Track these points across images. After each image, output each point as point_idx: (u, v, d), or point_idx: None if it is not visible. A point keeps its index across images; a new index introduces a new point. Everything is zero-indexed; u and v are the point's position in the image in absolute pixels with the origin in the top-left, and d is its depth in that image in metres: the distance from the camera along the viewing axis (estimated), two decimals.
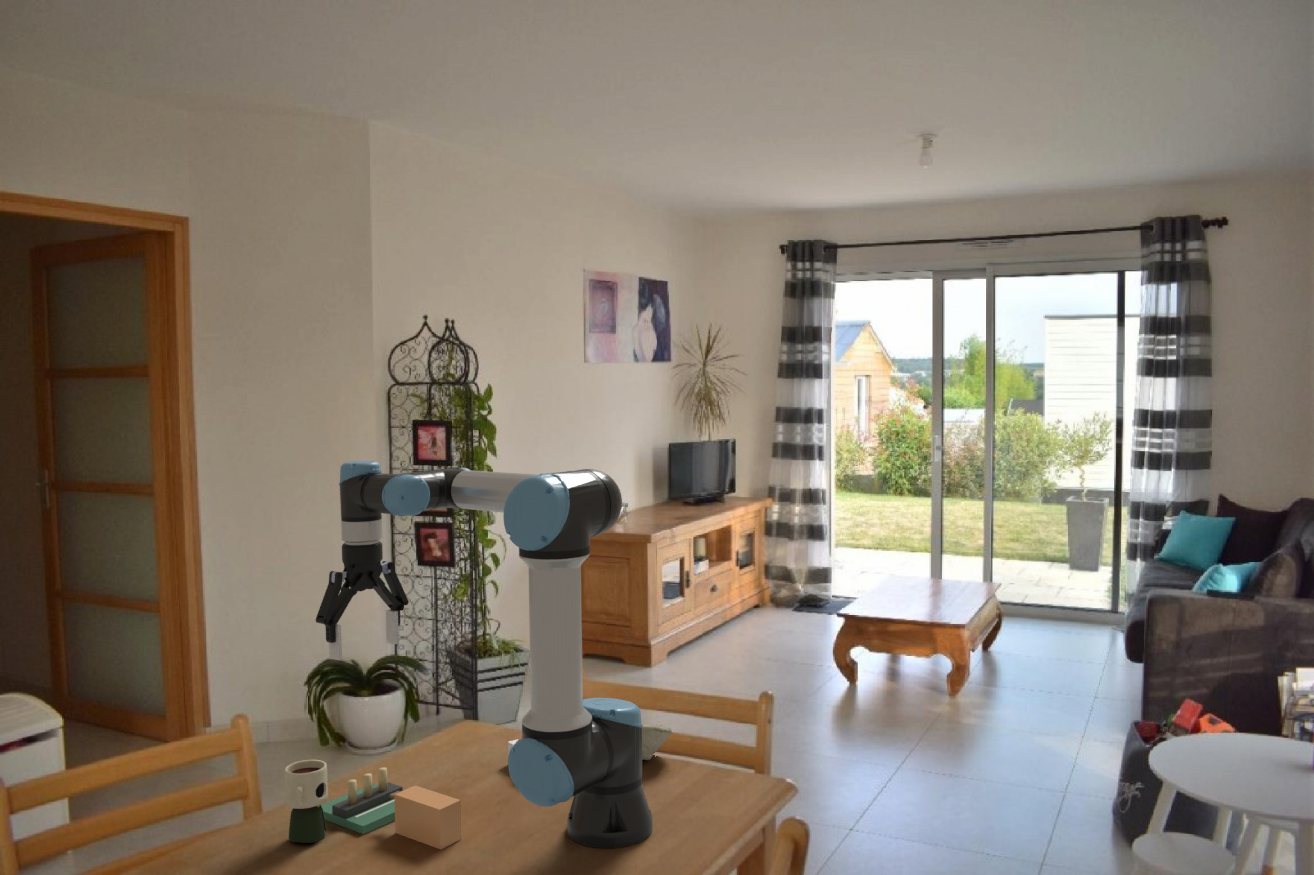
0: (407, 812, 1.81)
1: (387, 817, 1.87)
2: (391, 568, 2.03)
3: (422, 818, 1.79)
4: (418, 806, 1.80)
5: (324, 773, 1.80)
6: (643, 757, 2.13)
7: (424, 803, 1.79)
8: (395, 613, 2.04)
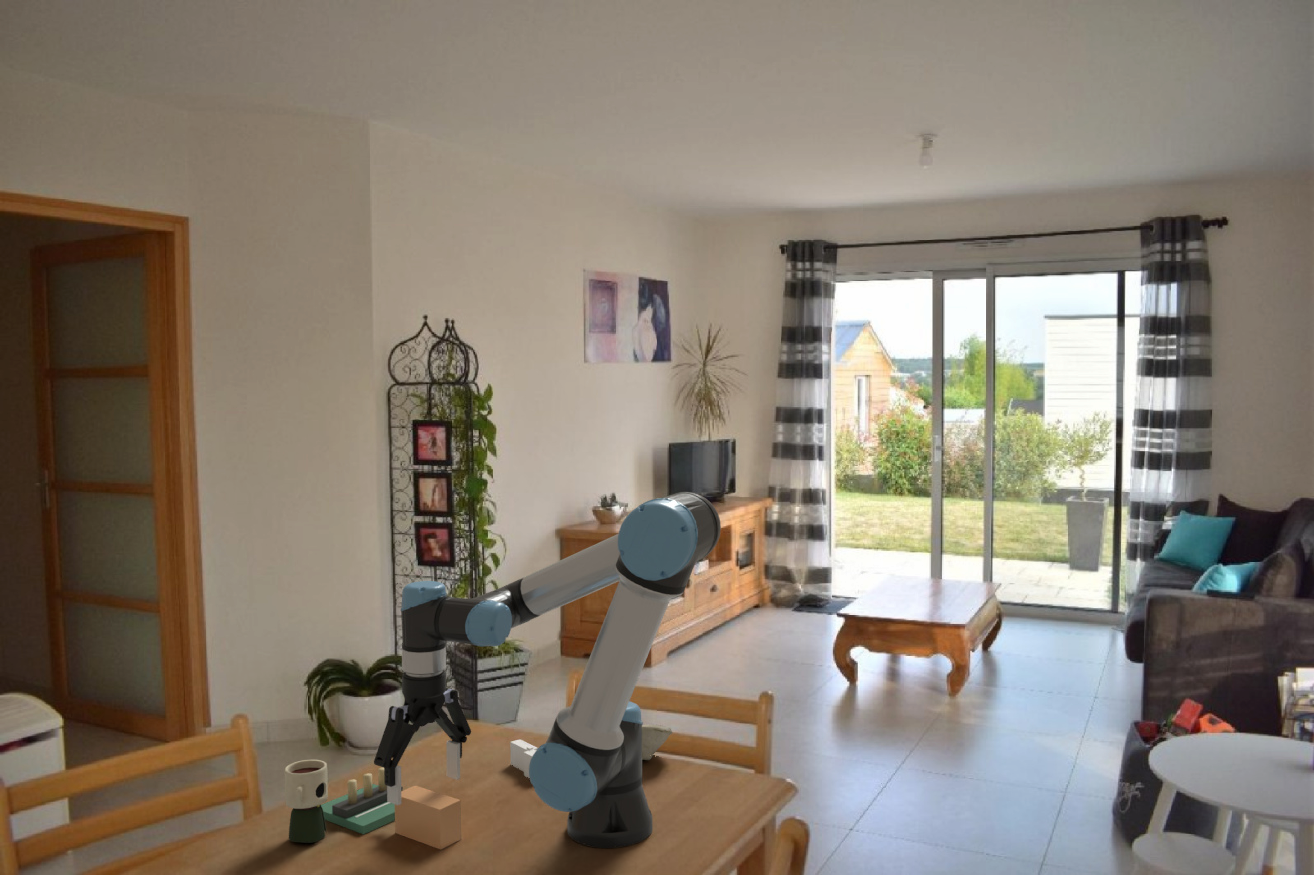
0: (407, 812, 1.81)
1: (387, 817, 1.87)
2: (454, 697, 1.85)
3: (422, 818, 1.79)
4: (418, 806, 1.80)
5: (324, 773, 1.80)
6: (643, 757, 2.13)
7: (424, 803, 1.79)
8: (457, 746, 1.86)
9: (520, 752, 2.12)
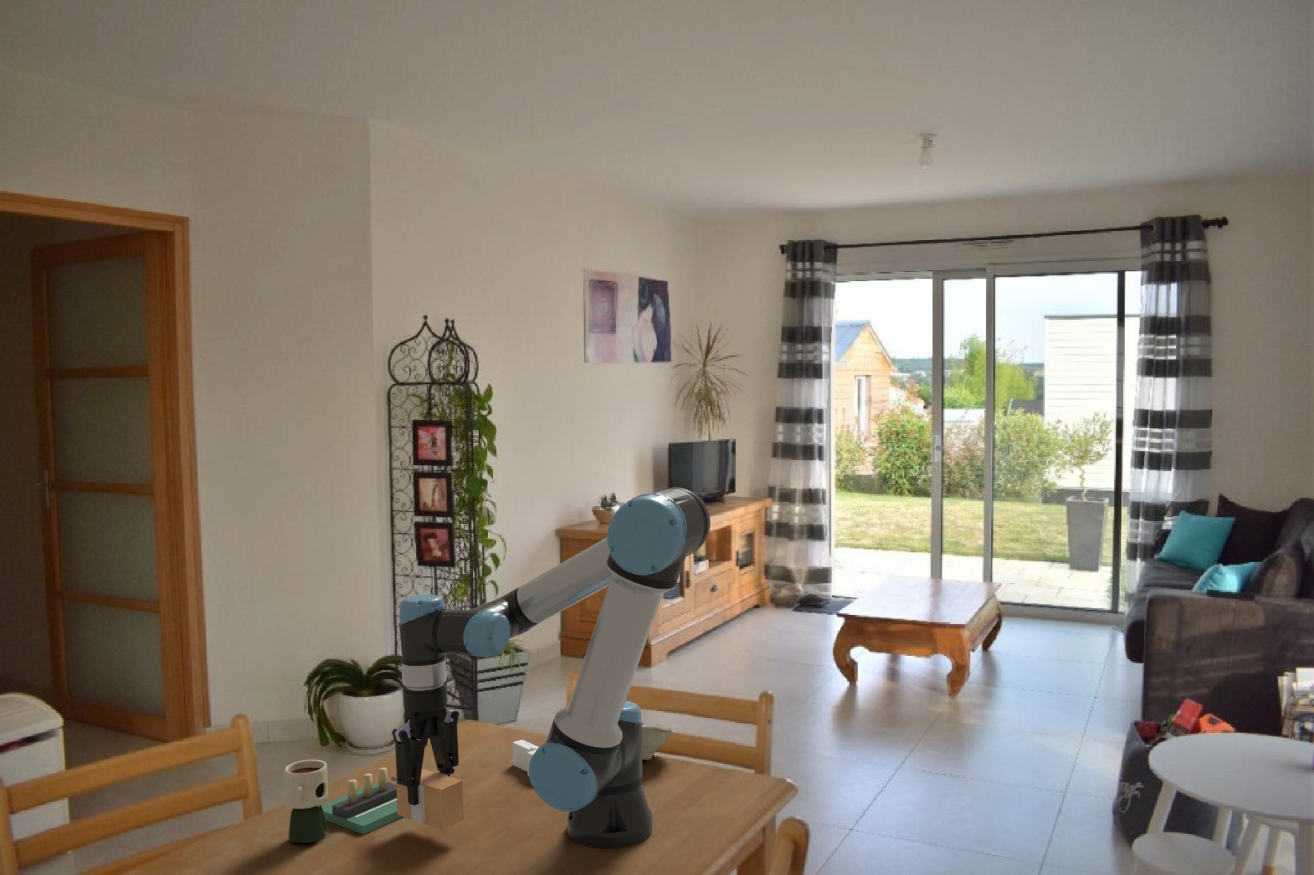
0: None
1: (387, 817, 1.87)
2: (454, 717, 1.85)
3: (424, 799, 1.79)
4: None
5: (324, 773, 1.80)
6: (643, 757, 2.13)
7: (426, 783, 1.79)
8: None
9: (523, 752, 2.12)
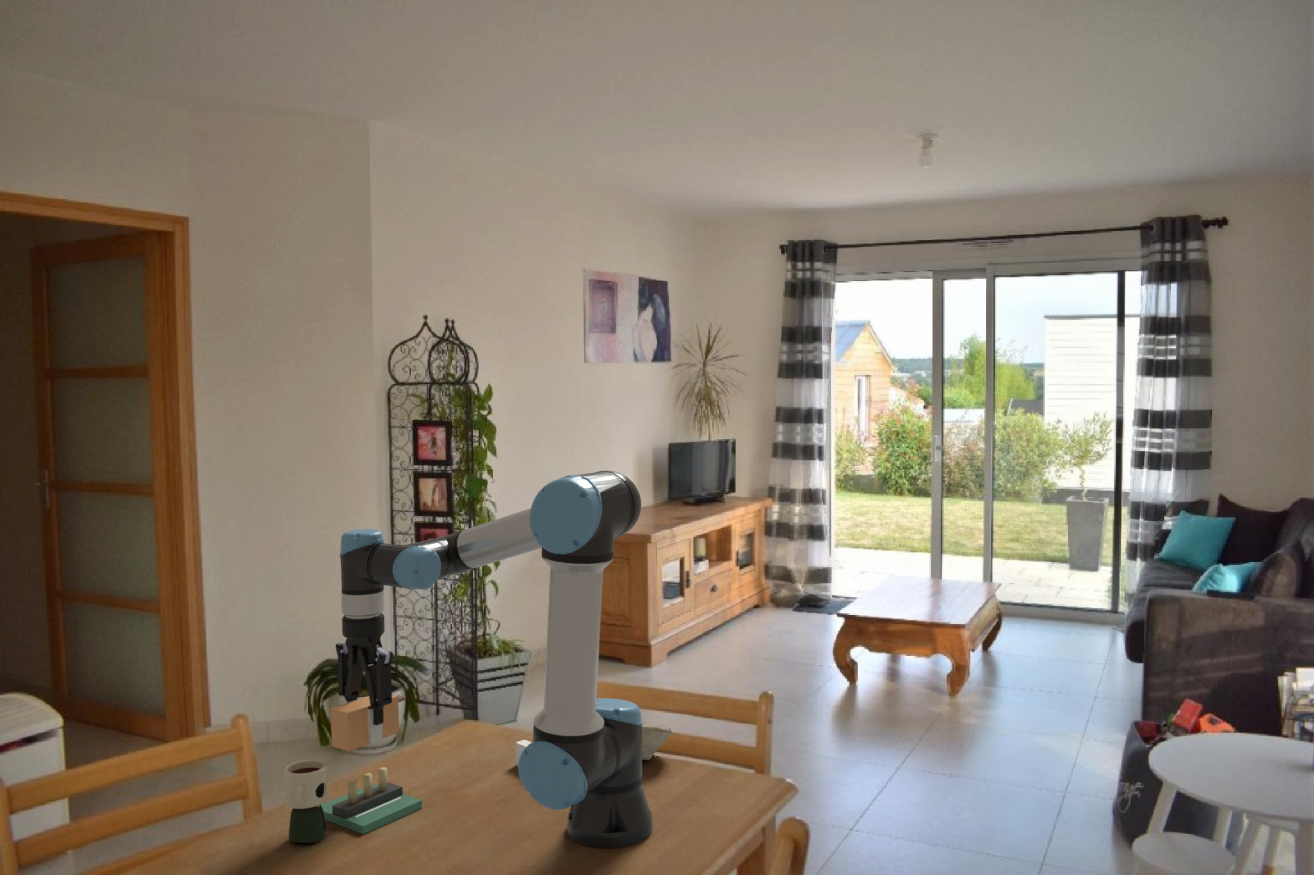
0: None
1: (387, 817, 1.87)
2: (378, 659, 1.87)
3: None
4: None
5: (324, 773, 1.80)
6: (643, 757, 2.13)
7: (351, 702, 1.91)
8: (368, 709, 1.89)
9: None
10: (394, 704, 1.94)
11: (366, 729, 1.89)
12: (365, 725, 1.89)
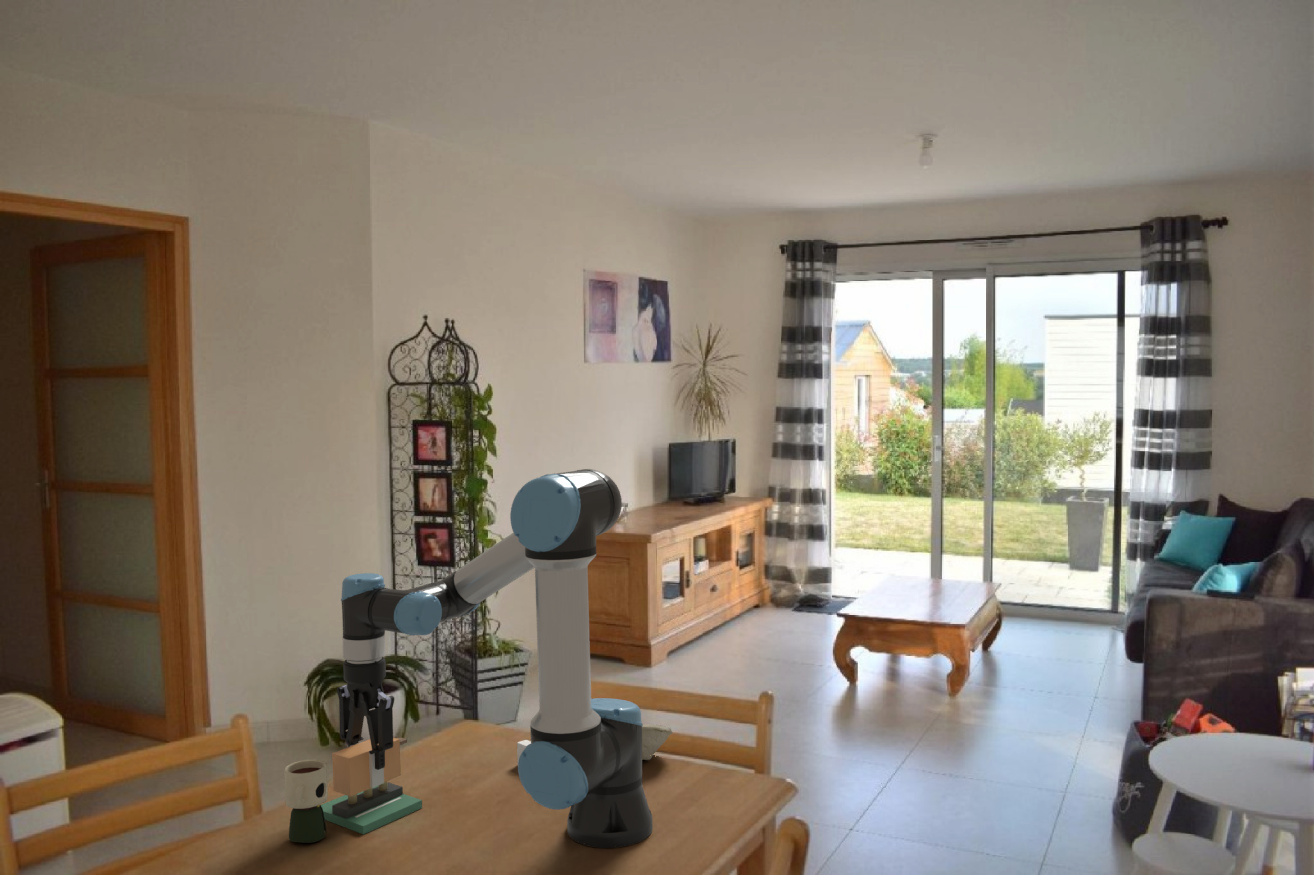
0: None
1: (387, 817, 1.87)
2: (380, 704, 1.87)
3: None
4: None
5: (324, 773, 1.80)
6: (643, 757, 2.13)
7: (353, 746, 1.92)
8: (369, 754, 1.89)
9: None
10: (395, 747, 1.95)
11: (368, 773, 1.89)
12: (366, 769, 1.89)
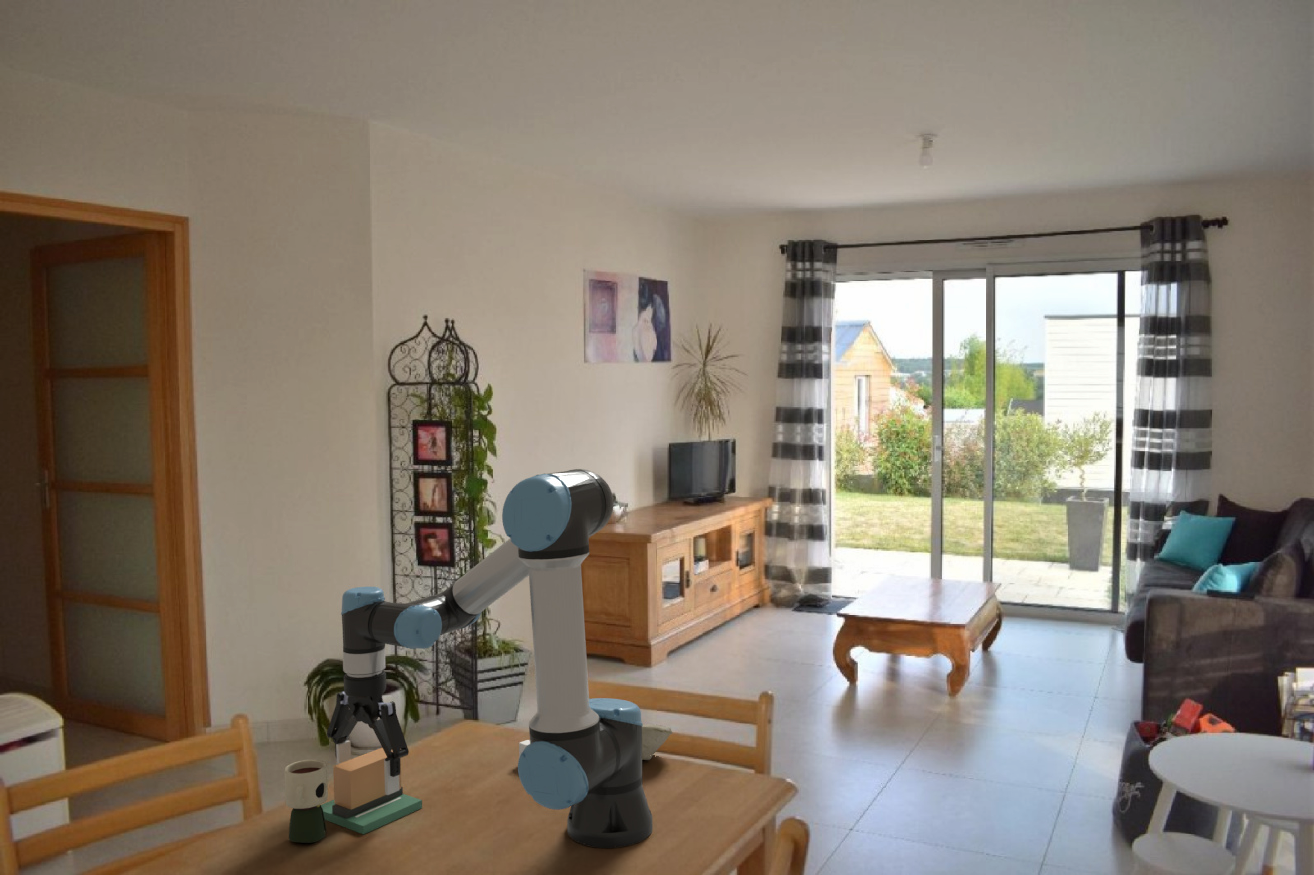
0: None
1: (387, 817, 1.87)
2: (382, 711, 1.87)
3: None
4: None
5: (324, 773, 1.80)
6: (643, 757, 2.13)
7: (354, 759, 1.92)
8: (384, 761, 1.87)
9: None
10: None
11: (368, 786, 1.90)
12: (367, 782, 1.89)
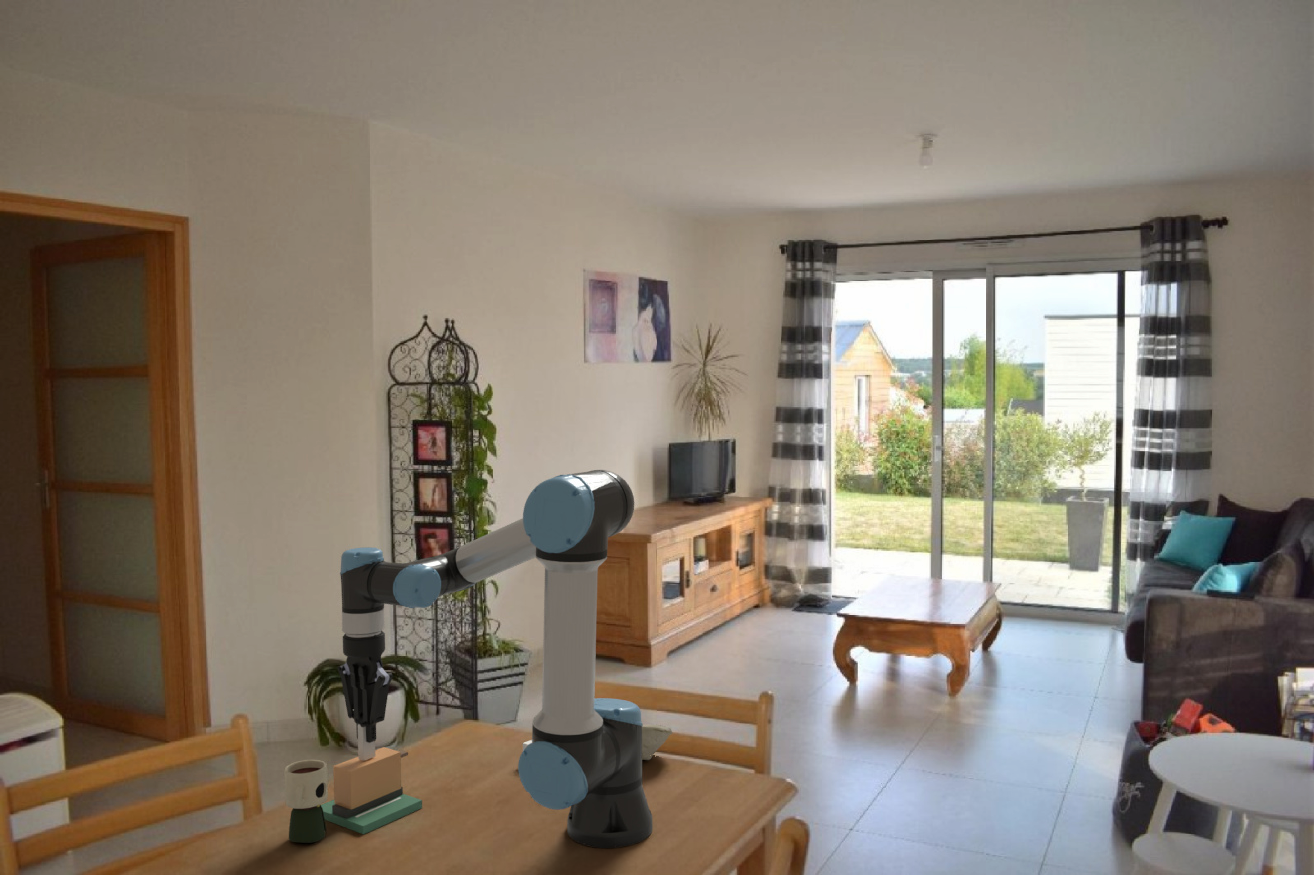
0: None
1: (387, 817, 1.87)
2: (378, 680, 1.87)
3: None
4: None
5: (324, 773, 1.80)
6: (643, 757, 2.13)
7: (354, 759, 1.92)
8: (360, 727, 1.91)
9: None
10: (396, 760, 1.95)
11: (368, 786, 1.90)
12: (367, 782, 1.89)
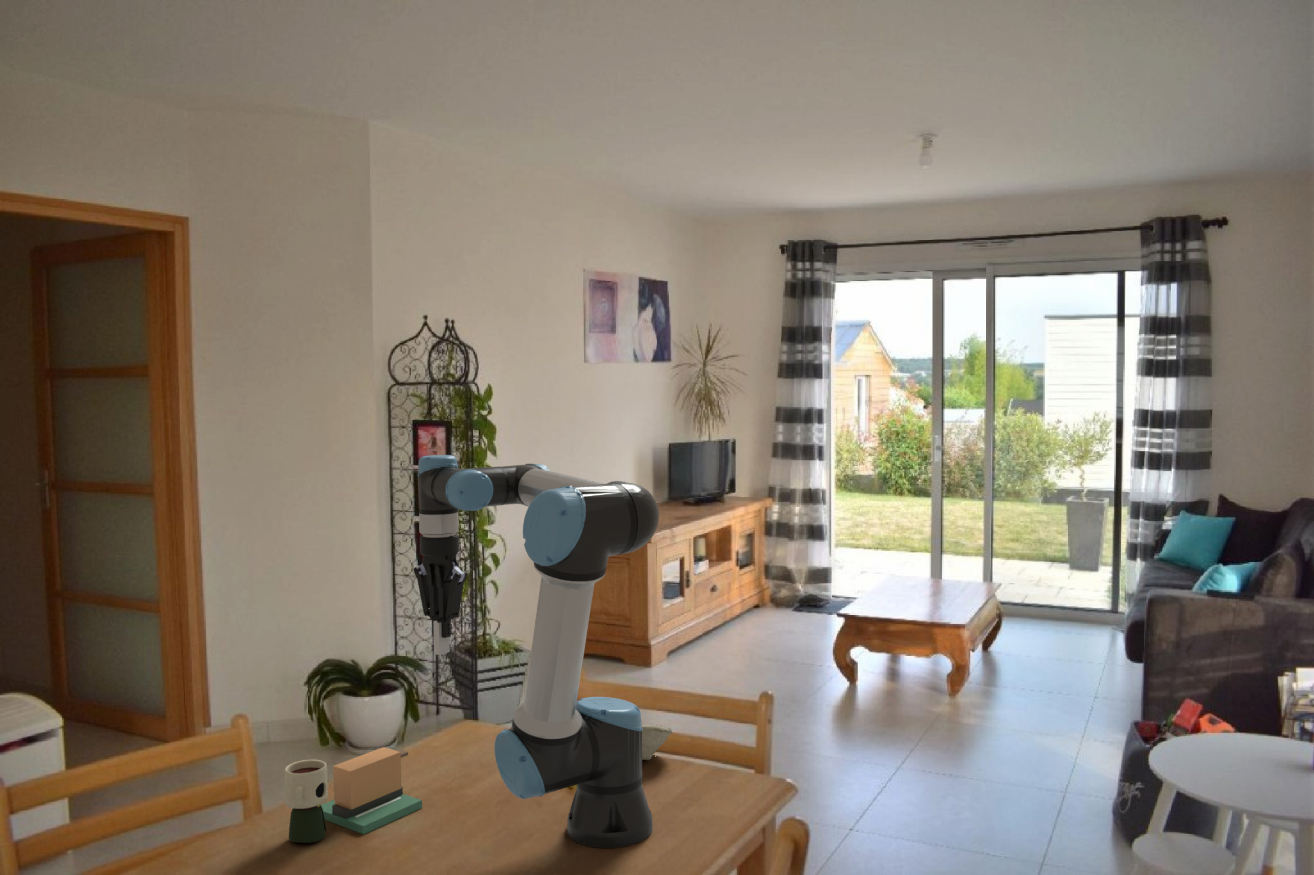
0: None
1: (387, 817, 1.87)
2: (454, 577, 1.99)
3: None
4: None
5: (324, 773, 1.80)
6: (643, 757, 2.13)
7: (354, 759, 1.92)
8: (436, 623, 2.02)
9: None
10: (396, 760, 1.95)
11: (368, 786, 1.90)
12: (367, 782, 1.89)
